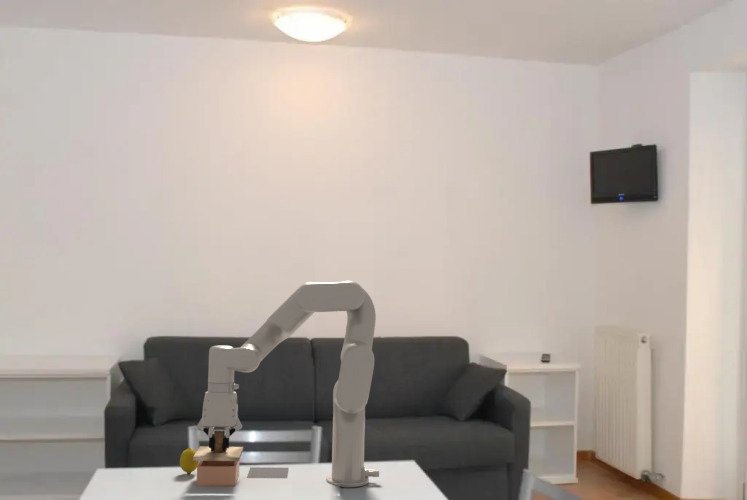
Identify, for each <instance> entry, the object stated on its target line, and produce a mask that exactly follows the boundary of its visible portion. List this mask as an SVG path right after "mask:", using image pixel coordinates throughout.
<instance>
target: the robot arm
mask: <svg viewBox="0 0 747 500" xmlns="http://www.w3.org/2000/svg"><path fill="white" fill-rule="evenodd" d="M329 312H330V313H331V312H333V313H334V312H346V315H347V317H346V318H347V320H346V321H347V322H346V326H345V327H346V328H345V329H346V330H345V335H344V340H343V344H342V348H341V349H342V350H341V352H340V361H341V362H340V369H339V374H338V375H339V376H338V379H337V381H336V382H335V384H334V386H333V391H332V392H333V393H332V401H333V402H332V403H333V404H332V406H333V409H332V410H333V411H332V415H333V417H332V446H331V447H332V448H331V449H332V450H331V451H332V452H331V458H332V459H331V474H328V475H327V477H326V479H325V480H326V483H328V484H331V485H333V486H338V487H340V488H358V487H362V486H366V485H368V483H369V482H370V481H369V480H370V479H369V478H371V477H372V478H380V470H379V469H378V470H375V469H374V468H371V469H370V468H369V469H368V468H367V467H366V466H365V437H366V436H365V433H366V431H365V430H366V406H367V404H368V400H369V397H370V392H371V386H372V379H373V374H374V369H375V354H374V352H373V343H374V336H375V329H376V328H375V327H376V318H377V317H376V314H377V313H376V308H375V305H374V303H373V300H372V297H371V296H370V295H369V293H368V292H367V291H366V289H365V288H363V287H362V286H361V285H360V284H359V283H357V282H356V281H353V280H344V281H339V282H338V281H337V282H313V281H308V282H304V283H302V284H301V285H300V286H299V287H298V288H297V289H296V290H295V291H294V292H293V293H292V294H291V295H290V296H288V298H287V299H286V300H285V301H284V302H283V303H282V304H281V305H280V306H279V307H277V309H276V310H275V311H273V313H272V314H271V315H270V316H269V317H268V318H267V319H266V321H265V322H264V323H263V324H262V325H261V326H260V327H259V328H258V329H257V330H256V331H255V332H254V333H253V334H252V335H251V336H250V337H249V338H248V339H247V340H246V341H245V342H244V343H243V344H242V345H241V346H240V347H234V346H231V345H227V344H226V345H225V344H223V345H222V344H221V345H213V346H210V348H209V351H208V352H209V353H208V373H207V374H208V377H207V391H205V394H204V396H203V397H204V399H203V402H202V403H203V404H202V411H201V412H202V413H201V418H200V419H199V422H198V423H197V426H196V428H197V429H199V430H201V431H203V432H204V434H205V435H206V436H207V437H208V439H209V440H208V447H209V448H211V451H214V431H215V428H224V431H225V437H224V444H223V451H224V452H226V450H227V448H229V447H230V437H231V436H232V435H234V433H235V432H237V431H239V430H241V429H242V428H243V424H242V423H241V421H240V419H239V405H238V401H239V400H238V394H237V392H236V391H235V390H237V389H238V390H239V388H240V385H239V383H238V384H237V383H235V372H240V373H252V372H254V371H256V370H257V368H258V367H259V366H260V363H261V362H262V361H263V360H264V359H265V358H266V357H267V355H269V354H270V353H271V352H273V350H274V349H275V348H276V347H277V346H278V345H279V344H280V343H282V342H283V341H285V340H286V339H288V338H290V337H291V336H292V335H293V334H295V332H296V331H298V329H299V328H300V327H301V326H302V325H303V324H304V323H305V322H306V321H307V320H309V318H310V317H311V316H313V314H314V313H329Z"/></svg>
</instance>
